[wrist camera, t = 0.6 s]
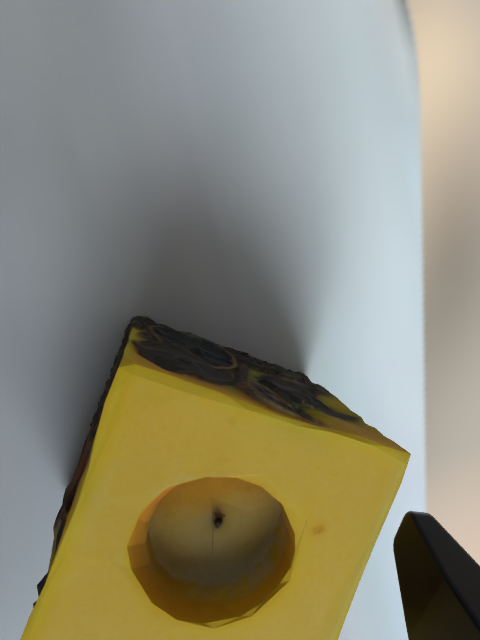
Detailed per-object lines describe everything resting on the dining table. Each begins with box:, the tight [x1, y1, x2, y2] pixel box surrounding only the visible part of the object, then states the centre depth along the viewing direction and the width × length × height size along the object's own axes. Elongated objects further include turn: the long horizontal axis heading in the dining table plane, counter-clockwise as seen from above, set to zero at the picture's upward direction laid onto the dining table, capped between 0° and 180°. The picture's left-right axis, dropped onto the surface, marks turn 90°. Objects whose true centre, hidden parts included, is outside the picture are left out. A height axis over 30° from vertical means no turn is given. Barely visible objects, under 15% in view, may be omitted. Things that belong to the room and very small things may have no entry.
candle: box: [20, 316, 411, 640], centre depth 18 cm, size 10×10×10 cm
